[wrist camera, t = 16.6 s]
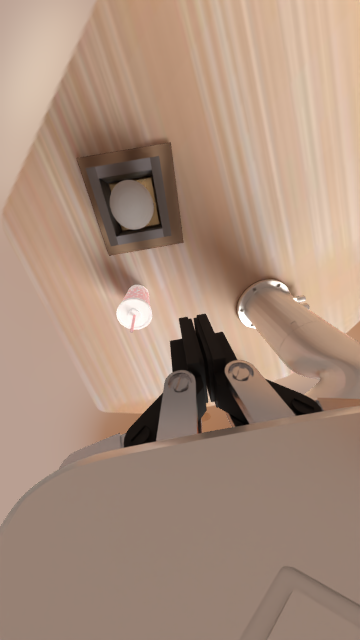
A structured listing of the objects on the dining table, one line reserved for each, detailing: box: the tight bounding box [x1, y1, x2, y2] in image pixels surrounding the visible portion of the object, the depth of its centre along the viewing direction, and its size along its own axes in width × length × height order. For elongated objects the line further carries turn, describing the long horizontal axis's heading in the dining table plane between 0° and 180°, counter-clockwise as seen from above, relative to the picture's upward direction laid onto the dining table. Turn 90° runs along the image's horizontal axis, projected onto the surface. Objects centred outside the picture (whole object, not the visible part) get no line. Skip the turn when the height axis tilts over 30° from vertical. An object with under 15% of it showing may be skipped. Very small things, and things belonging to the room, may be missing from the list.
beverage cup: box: [116, 285, 152, 333], centre depth 34 cm, size 6×6×14 cm
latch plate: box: [110, 178, 159, 230], centre depth 31 cm, size 6×6×1 cm
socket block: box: [76, 142, 183, 256], centre depth 29 cm, size 14×14×7 cm
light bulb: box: [110, 180, 154, 230], centre depth 26 cm, size 6×6×10 cm
